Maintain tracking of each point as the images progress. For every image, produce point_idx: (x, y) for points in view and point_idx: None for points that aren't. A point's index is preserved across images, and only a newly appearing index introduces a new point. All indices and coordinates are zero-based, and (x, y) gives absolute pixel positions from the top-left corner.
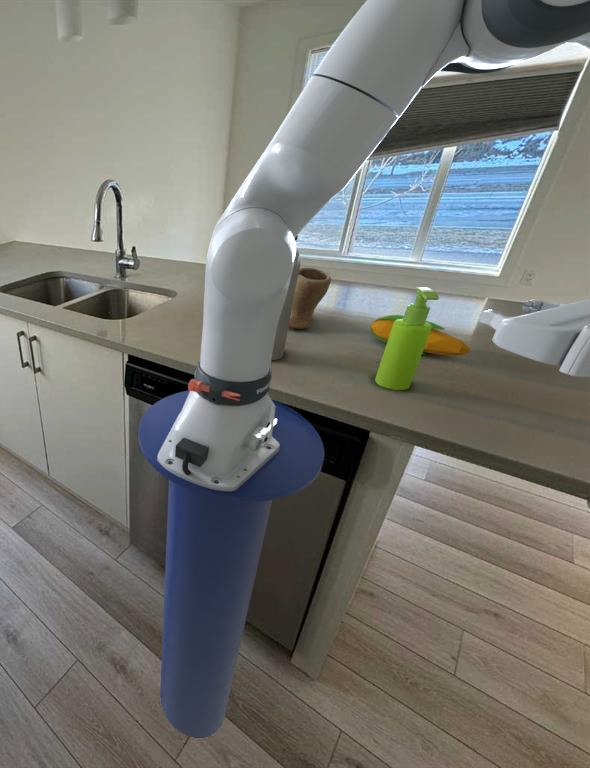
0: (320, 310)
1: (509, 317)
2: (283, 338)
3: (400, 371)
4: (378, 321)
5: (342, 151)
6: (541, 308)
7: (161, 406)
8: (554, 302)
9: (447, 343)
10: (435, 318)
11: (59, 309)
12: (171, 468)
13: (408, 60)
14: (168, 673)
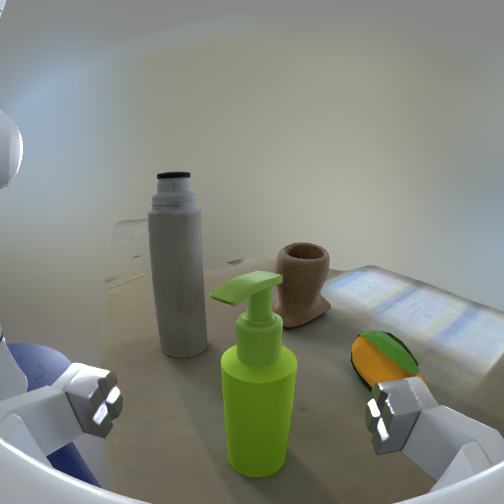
0: (352, 308)
1: (8, 416)
2: (180, 328)
3: (233, 447)
4: (359, 338)
5: None
6: (411, 436)
7: (12, 347)
8: (460, 420)
9: None
10: (467, 341)
11: (130, 256)
12: None
13: None
14: None
